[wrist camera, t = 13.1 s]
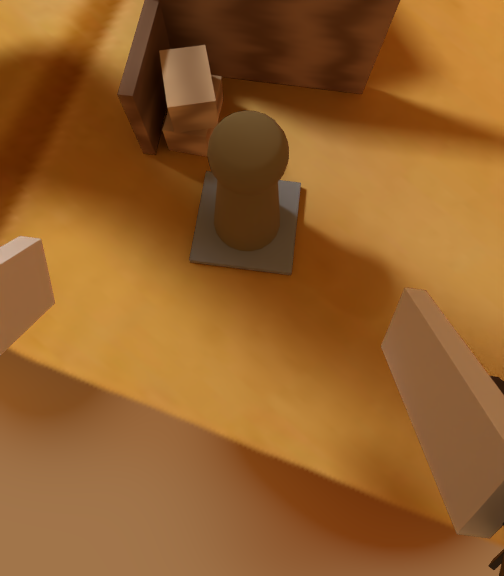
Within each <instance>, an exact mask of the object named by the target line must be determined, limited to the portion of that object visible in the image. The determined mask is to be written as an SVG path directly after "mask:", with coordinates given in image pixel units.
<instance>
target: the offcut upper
mask: <svg viewBox="0 0 504 576" xmlns="http://www.w3.org/2000/svg"><path fill="white" fill-rule="evenodd" d="M159 53H160V60H161V67H162V74H163V81H164V88H165V95H166V101H167V108H168V111H169V115H170V118H171V122H172V125H173V129H174V132H175V133H180V132H187V131H194V130H202V129H209V128H215V127H216V126H217V125H218V116H217V106H216V99H215V93H214V88H213V83H212V78H211V72H210V67H209V62H208V57H207V51H206V46H205V45H200V46H192V47H184V48H176V49H168V50H160V51H159Z"/></svg>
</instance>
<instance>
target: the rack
mask: <svg viewBox="0 0 504 576" xmlns="http://www.w3.org/2000/svg"><path fill="white" fill-rule="evenodd" d="M399 2H400V0H145V1H144V5H143V8H142V12H141V15H140V18H139V22H138V25H137V29H136V32H135V36H134V39H133V42H132V46H131V49H130V53H129V56H128V60H127V63H126V66H125V70H124V73H123V77H122V80H121V83H120V87H119V90H118V94H117V95H118V97H119V99H120V101H121V104H122V106H123V108H124V110H125V113H126V115H127V117H128V120H129V122H130V124H131V126H132V129H133V131H134V133H135V135H136V138H137V140H138V142H139V144H140V147H141V149H142V151H143V153H146V154H154V155H156V150H157V146H158V142H159V138H160V134H161V130H162V125H163V121H164V117H165V113H166V109H167V101H166V95H165V88H164V81H163V74H162V67H161V60H160V53H159V51H160V50H168V49H176V48H184V47H192V46H200V45H205V46H206V51H207V57H208V62H209V67H210V72H211V75H216V76H222V77H227V78H236V79H244V80H252V81H260V82H269V83H277V84H285V85H293V86H301V87H310V88H318V89H326V90H334V91H342V92H351V93H359V94H362V92H363V90H364V87H365V85H366V83H367V80H368V78H369V75H370V73H371V70H372V68H373V65H374V63H375V61H376V58H377V56H378V53H379V51H380V48H381V46H382V43H383V41H384V39H385V36H386V34H387V31H388V29H389V26H390V24H391V22H392V19H393V17H394V14H395V12H396V9H397V7H398V4H399Z"/></svg>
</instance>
